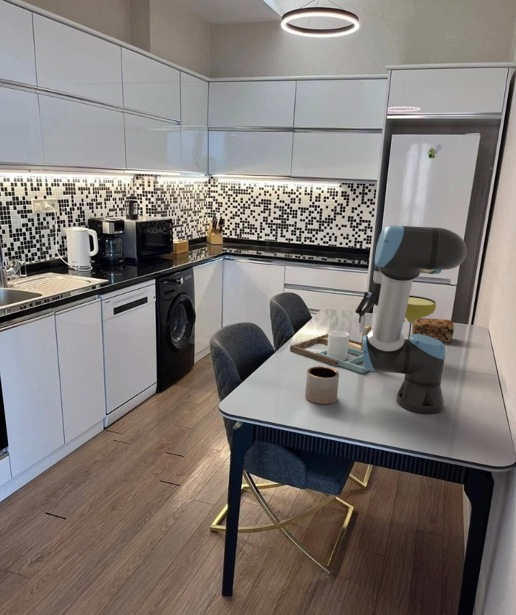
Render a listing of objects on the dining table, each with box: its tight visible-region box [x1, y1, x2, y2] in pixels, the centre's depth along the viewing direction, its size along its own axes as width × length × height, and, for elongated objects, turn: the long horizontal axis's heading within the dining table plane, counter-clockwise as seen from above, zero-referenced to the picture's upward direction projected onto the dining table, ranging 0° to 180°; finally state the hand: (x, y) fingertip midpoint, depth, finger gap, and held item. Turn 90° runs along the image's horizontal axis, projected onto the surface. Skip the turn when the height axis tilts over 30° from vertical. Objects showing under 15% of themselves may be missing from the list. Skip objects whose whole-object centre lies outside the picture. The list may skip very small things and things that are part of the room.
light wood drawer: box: [324, 325, 372, 350], centre depth 215 cm, size 7×22×12 cm, turn 46°
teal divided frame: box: [316, 347, 370, 374], centre depth 197 cm, size 17×22×12 cm
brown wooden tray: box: [289, 332, 363, 367], centre depth 210 cm, size 29×24×2 cm
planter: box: [304, 365, 340, 405], centre depth 161 cm, size 11×11×10 cm
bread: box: [411, 317, 455, 344], centre depth 233 cm, size 19×11×10 cm, turn 73°
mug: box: [326, 330, 350, 361], centre depth 202 cm, size 9×12×11 cm
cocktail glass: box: [404, 295, 437, 339], centre depth 205 cm, size 18×18×25 cm
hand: (377, 335), depth 187 cm, fingers open, 13 cm apart
